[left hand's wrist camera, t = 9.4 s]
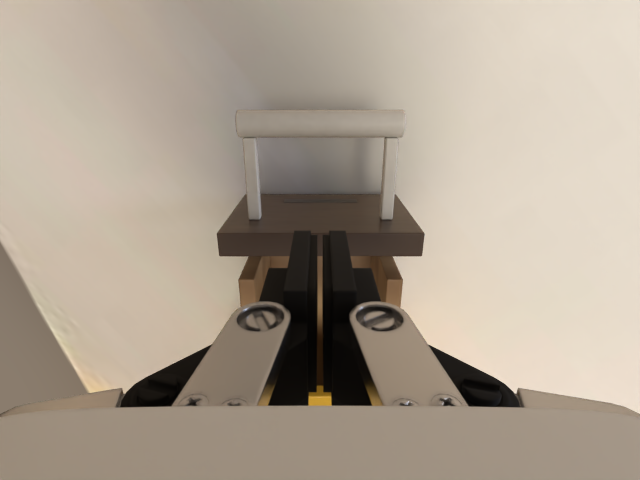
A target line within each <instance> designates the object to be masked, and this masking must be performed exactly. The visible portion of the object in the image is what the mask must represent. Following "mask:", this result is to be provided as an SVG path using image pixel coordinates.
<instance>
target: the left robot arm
mask: <svg viewBox="0 0 640 480" xmlns="http://www.w3.org/2000/svg"><path fill="white" fill-rule="evenodd" d="M317 321H318V282H317V235H311V231H294V235H293V240H292V246H291V251H290V256H289V262H288V267H287V268H269V269H268V272H267V275H266V279H265V282H264V286H263V289H262V292H261V296H260V299H259V302H254V303H250V304H247V305H244V306H242V307H240V308H239V309H237V310H236V311H235V312H234V313H233V314H232V315H231V317H230V318H229V320H228V321H227V323H226V324H225V326H224V327H223V329H222V330H221V332H220V333H219V335H218V336H217V338H216V339H215V341H214V343H213V344H212V345H210V346H208V347H206V348H204V349H202V350H200V351H198V352H196V353H194V354H192V355H190V356H188V357H186V358H184V359H182V360H180V361H178V362H176V363H174V364H172V365H170V366H168V367H166V368H164V369H162V370H160V371H158V372H156V373H154V374H152V375H150V376H148V377H146V378H144V379H143V380H141V381H139V382H138V383H136V384H135V385H134V386H133V387H132V388H130V389H129V390H128V391H127V392H126V394H123V390H122V388H118V389H112V390H106V391H100V392H94V393H88V394H82V395H76V396H70V397H64V398H58V399H52V400H45V401H40V402H33V403H28V404H24V405H21V406H17V407H14V408H12V409H10V410H8V411H6V412H3V413H1V414H0V480H640V414H639V413H637V412H634V411H632V410H630V409H628V408H626V407H623V406H619V405H616V404H612V403H607V402H601V401H595V400H588V399H582V398H576V397H570V396H564V395H558V394H552V393H546V392H540V391H534V390H528V389H522V388H518V390H517V394H514V392H513V391H512V390H511V389H510V388H508V387H507V386H506V385H505V384H504V383H502V382H501V381H499V380H497V379H496V378H494V377H492V376H490V375H488V374H486V373H484V372H482V371H480V370H478V369H476V368H474V367H472V366H470V365H468V364H466V363H464V362H462V361H460V360H458V359H456V358H454V357H452V356H450V355H448V354H446V353H444V352H442V351H440V350H438V349H436V348H434V347H432V346H430V345H428V344H427V343H426V341H425V339H424V338H423V336H422V335H421V333H420V332H419V330H418V329H417V327H416V326H415V324H414V323H413V321H412V320H411V318H410V317H409V315H408V314H407V313H406V312H405V311H404V310H403V309H401V308H400V307H398V306H396V305H393V304H390V303H386V302H381V299H380V296H379V292H378V289H377V286H376V282H375V279H374V275H373V272H372V269H371V268H353V267H352V262H351V256H350V251H349V246H348V240H347V235H346V231H329V235H323V281H322V321H323V392H331V405H332V406H308V405H309V392H317Z"/></svg>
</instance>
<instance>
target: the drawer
mask: <svg viewBox="0 0 640 480" xmlns="http://www.w3.org/2000/svg"><path fill="white" fill-rule="evenodd" d="M405 126H406V115H405V111H404V110H237V112H236V131H237V134H238V136H239V137H244V138H243V151H244V164H245V177H246V191H247V194H246V195H245V196H244V197H243V198H242V200H241V201H240V202H239V204H238V205H237V207H236V208H235V209H234V211H233V212H232V213H231V215H230V216H229V218H228V219H227V220H226V222H225V223H224V224H223V226H222V227H221V229H220V230H219V231H218V233H217V239H218V248H219V256H249V257H248V259H247V262H246V264H245V266H244V268H243V271H242V273H241V275H240V278H239V291H240V302H241V307H242V306H244V305H247V304H250V303H254V302H259V299H260V296H261V292H262V289H263V286H264V282H265V279H266V275H267V272H268V269H269V268H287V267H288V262H289V256H290V251H291V246H292V240H293V235H294V231H311V235H317V282H318V321H317V386H323V321H322V281H323V235H329V231H346V235H347V240H348V246H349V251H350V256H351V262H352V267H353V268H371V269H372V272H373V275H374V279H375V282H376V286H377V289H378V292H379V296H380V299H381V302H386V303H390V304H393V305H396V306H398V307H400V305H401V294H402V284H403V279H402V277H401V275H400V272H399V270H398V268H397V266H396V263H395V261H394V259H393V256H422V251H423V242H424V232H423V231H422V229H421V228H420V227H419V225H418V224H417V223H416V221H415V220H414V219H413V217H412V216H411V215H410V213H409V212H408V210H407V209H406V208H405V206H404V205H403V204H402V202H401V201H400V200H399V198H398V197H397V195H395V181H396V168H397V155H398V141H399V139H398V138H397V137H403V135H404V132H405ZM256 137H385V138H384V154H383V170H382V186H381V194H260V182H259V165H258V149H257V138H256Z"/></svg>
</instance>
